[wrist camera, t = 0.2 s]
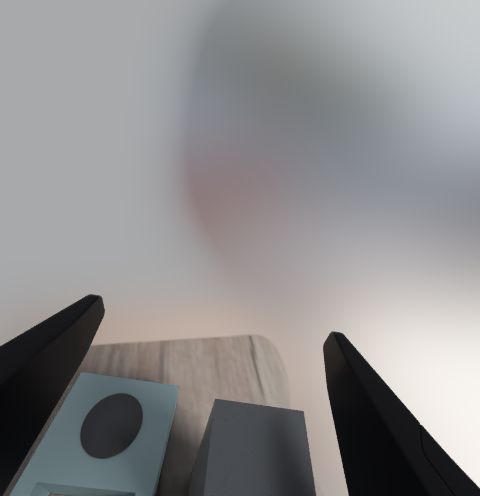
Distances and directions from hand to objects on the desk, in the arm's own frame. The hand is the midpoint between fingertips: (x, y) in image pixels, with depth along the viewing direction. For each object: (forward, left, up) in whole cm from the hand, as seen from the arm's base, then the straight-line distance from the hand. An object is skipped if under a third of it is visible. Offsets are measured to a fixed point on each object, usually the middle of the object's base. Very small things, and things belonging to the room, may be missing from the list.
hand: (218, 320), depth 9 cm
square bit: (-3, -3, -16) cm, 17 cm away
